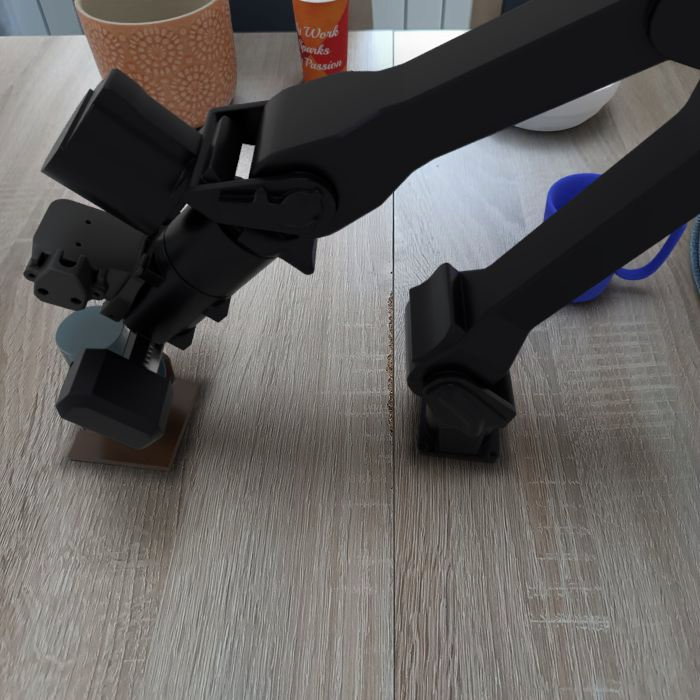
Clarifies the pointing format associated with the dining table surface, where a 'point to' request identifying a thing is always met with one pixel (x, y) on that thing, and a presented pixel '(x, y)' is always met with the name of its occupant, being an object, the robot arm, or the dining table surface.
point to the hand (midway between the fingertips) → (89, 363)
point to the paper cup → (322, 36)
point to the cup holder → (157, 453)
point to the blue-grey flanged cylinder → (93, 335)
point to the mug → (563, 194)
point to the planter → (166, 50)
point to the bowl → (571, 111)
